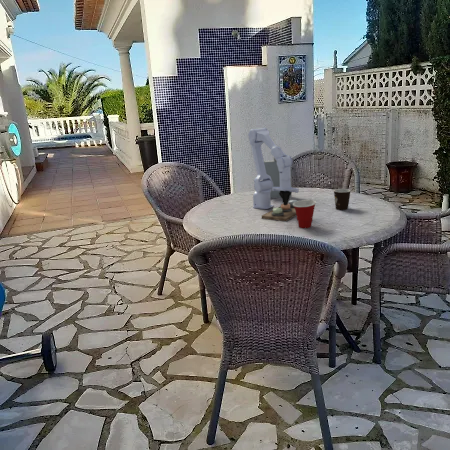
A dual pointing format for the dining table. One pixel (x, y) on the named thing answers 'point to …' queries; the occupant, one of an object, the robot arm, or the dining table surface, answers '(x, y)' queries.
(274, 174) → the grey upright box
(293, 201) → the slate button
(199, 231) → the dining table surface
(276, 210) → the sage button
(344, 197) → the coffee mug
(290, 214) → the button board
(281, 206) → the terracotta button
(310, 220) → the plastic cup
